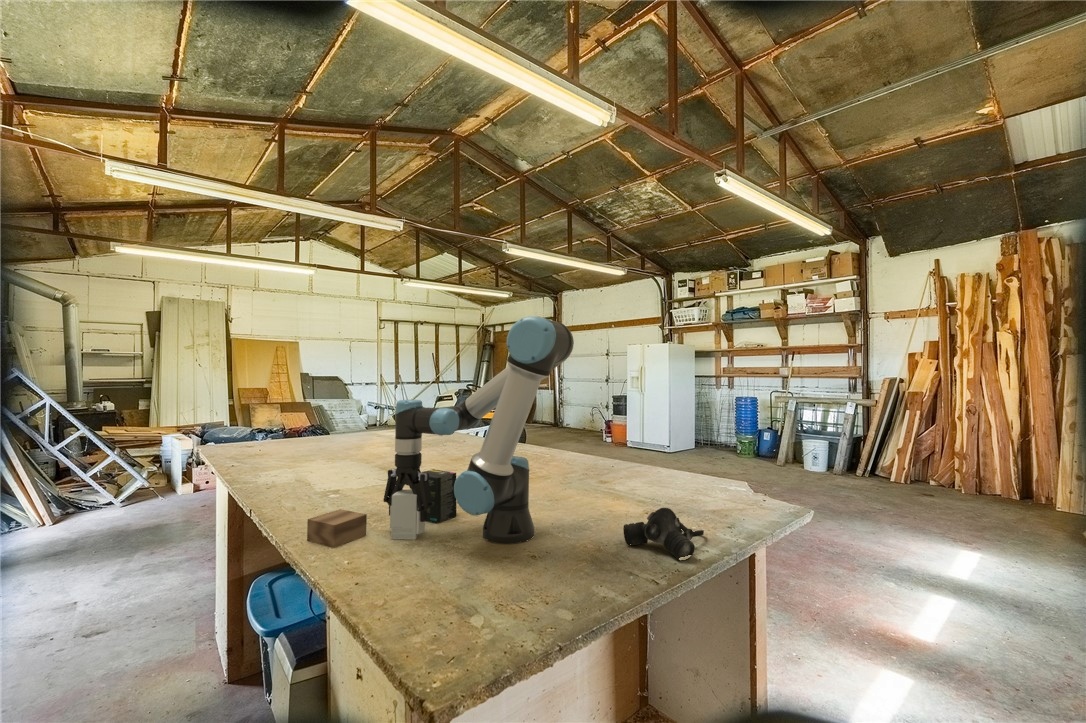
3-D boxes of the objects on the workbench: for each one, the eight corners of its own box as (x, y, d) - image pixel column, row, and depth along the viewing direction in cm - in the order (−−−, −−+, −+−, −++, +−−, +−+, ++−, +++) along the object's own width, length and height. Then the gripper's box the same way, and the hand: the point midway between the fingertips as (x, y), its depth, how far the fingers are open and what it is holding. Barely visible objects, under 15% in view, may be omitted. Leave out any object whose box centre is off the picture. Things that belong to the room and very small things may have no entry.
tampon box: (457, 516, 153) (457, 472, 153) (436, 524, 145) (437, 477, 146) (433, 511, 159) (433, 468, 159) (412, 518, 151) (413, 473, 151)
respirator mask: (614, 536, 127) (632, 488, 135) (645, 569, 139) (660, 522, 146) (682, 556, 114) (699, 501, 121) (710, 590, 125) (724, 538, 133)
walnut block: (366, 535, 135) (366, 514, 135) (333, 547, 125) (334, 525, 125) (340, 529, 140) (340, 509, 140) (307, 540, 130) (307, 519, 130)
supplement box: (416, 540, 131) (416, 495, 132) (390, 539, 131) (390, 494, 132) (423, 531, 139) (423, 488, 139) (398, 530, 139) (399, 488, 139)
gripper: (446, 453, 134) (445, 531, 133) (389, 447, 144) (388, 520, 144) (429, 457, 127) (428, 540, 127) (371, 451, 137) (369, 527, 137)
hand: (407, 529), depth 135 cm, fingers closed on supplement box, 9 cm apart
